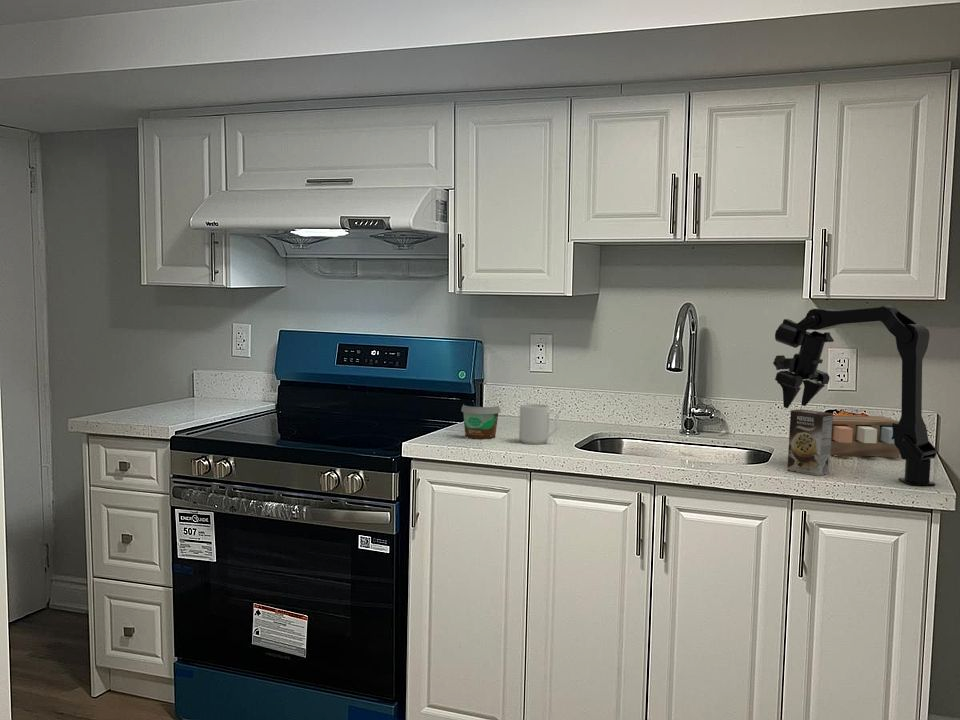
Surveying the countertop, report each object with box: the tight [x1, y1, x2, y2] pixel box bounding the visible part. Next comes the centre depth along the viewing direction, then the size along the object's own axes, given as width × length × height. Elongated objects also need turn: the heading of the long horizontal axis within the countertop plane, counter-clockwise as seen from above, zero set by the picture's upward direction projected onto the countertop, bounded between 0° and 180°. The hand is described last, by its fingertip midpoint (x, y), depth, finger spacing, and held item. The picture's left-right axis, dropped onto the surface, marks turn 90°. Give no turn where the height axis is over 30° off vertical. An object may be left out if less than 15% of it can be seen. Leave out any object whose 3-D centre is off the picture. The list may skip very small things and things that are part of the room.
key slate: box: [879, 426, 894, 444], centre depth 271 cm, size 6×4×4 cm, turn 1°
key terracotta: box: [832, 425, 853, 443], centre depth 271 cm, size 6×4×4 cm, turn 1°
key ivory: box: [856, 426, 877, 443], centre depth 271 cm, size 6×4×4 cm, turn 1°
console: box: [830, 414, 901, 458], centre depth 279 cm, size 12×22×10 cm, turn 91°
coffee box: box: [786, 409, 834, 477], centre depth 247 cm, size 9×6×16 cm
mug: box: [518, 403, 560, 445], centre depth 284 cm, size 12×9×11 cm
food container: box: [461, 403, 501, 440], centre depth 289 cm, size 12×6×10 cm, turn 80°
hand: (794, 406), depth 261 cm, fingers open, 9 cm apart
